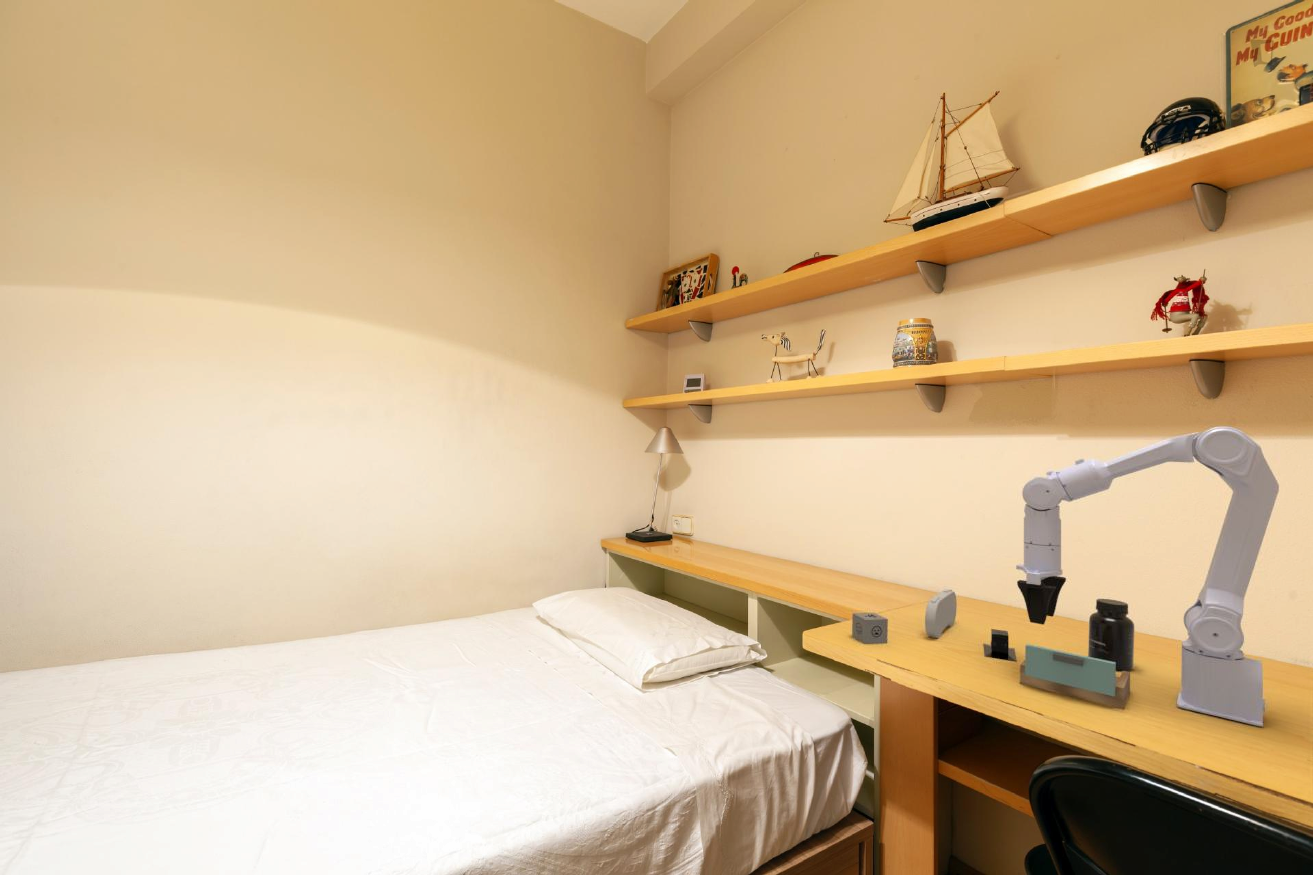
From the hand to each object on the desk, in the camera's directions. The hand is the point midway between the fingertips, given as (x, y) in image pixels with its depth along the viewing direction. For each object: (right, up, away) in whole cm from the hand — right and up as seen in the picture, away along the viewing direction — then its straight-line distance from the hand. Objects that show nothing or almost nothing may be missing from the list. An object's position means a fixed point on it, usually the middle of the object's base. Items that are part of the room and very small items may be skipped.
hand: (1041, 619), depth 108 cm
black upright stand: (-2, -11, +10) cm, 15 cm away
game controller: (-7, -10, +25) cm, 27 cm away
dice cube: (-25, -10, +16) cm, 32 cm away
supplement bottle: (+16, -10, +5) cm, 20 cm away
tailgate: (-3, -7, -11) cm, 13 cm away
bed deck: (+1, -9, -7) cm, 12 cm away
